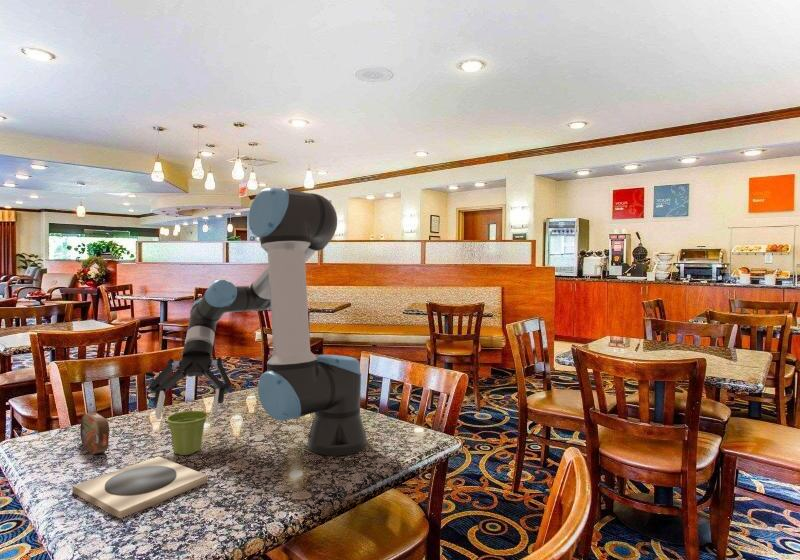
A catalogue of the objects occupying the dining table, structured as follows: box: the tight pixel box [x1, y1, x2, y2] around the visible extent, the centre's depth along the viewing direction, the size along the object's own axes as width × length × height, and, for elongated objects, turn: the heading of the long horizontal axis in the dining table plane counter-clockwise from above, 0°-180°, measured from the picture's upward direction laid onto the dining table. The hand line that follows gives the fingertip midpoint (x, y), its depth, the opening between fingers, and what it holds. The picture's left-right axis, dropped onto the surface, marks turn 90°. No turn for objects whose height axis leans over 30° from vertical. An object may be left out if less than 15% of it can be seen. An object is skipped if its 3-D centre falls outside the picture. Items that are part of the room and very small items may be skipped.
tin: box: [79, 412, 110, 455], centre depth 119 cm, size 15×3×8 cm, turn 47°
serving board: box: [71, 455, 208, 519], centre depth 99 cm, size 18×18×2 cm
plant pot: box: [165, 410, 209, 456], centre depth 118 cm, size 9×9×9 cm
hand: (186, 415), depth 121 cm, fingers open, 13 cm apart
